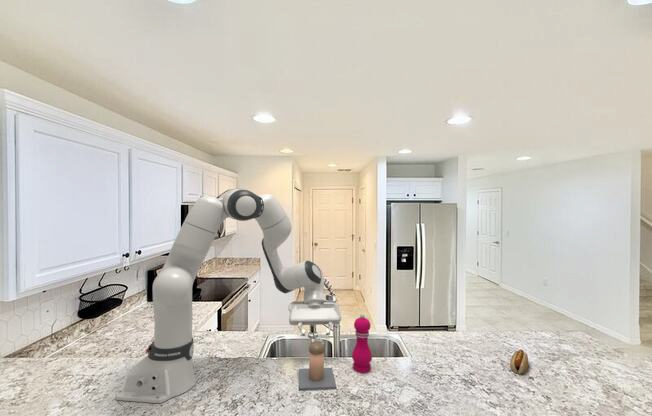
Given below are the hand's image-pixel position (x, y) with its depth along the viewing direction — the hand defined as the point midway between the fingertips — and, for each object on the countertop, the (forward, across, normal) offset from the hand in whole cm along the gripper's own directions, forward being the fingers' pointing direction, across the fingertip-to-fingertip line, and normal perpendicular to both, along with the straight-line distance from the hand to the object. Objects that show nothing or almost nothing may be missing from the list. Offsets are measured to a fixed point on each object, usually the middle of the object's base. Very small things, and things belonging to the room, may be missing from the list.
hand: (315, 335), depth 113 cm
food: (+13, +76, +3) cm, 77 cm away
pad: (+15, 0, 0) cm, 15 cm away
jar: (+14, 0, 0) cm, 14 cm away
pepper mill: (+11, +17, +5) cm, 21 cm away
